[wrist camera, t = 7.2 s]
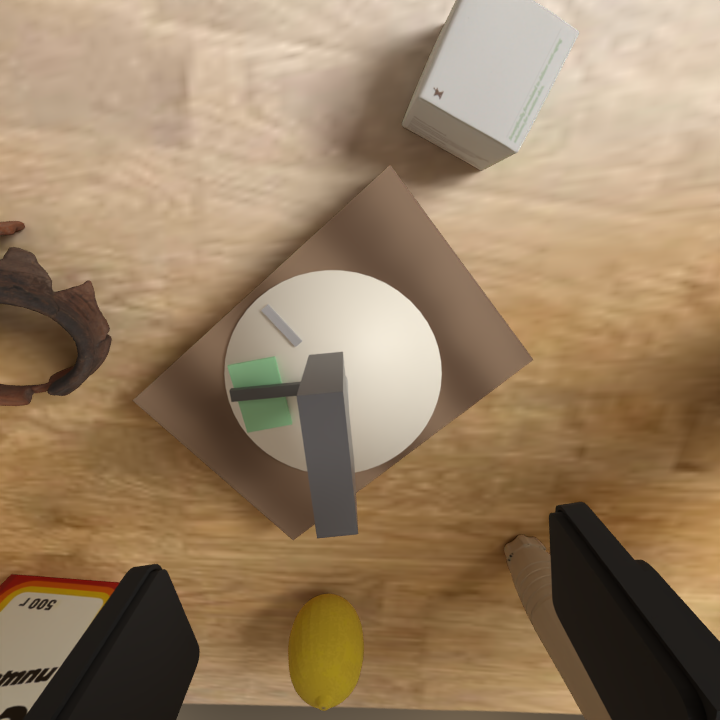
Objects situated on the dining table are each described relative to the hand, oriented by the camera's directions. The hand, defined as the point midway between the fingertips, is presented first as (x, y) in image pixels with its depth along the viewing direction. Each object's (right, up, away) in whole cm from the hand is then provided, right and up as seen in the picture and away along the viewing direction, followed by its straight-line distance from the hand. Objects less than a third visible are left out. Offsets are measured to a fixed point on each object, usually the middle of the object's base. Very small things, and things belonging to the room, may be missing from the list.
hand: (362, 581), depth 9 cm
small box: (+6, +20, +13) cm, 25 cm away
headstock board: (-2, +5, +17) cm, 17 cm away
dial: (-2, +4, +14) cm, 14 cm away
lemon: (-3, -15, +23) cm, 27 cm away
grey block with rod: (-4, +4, +13) cm, 14 cm away
